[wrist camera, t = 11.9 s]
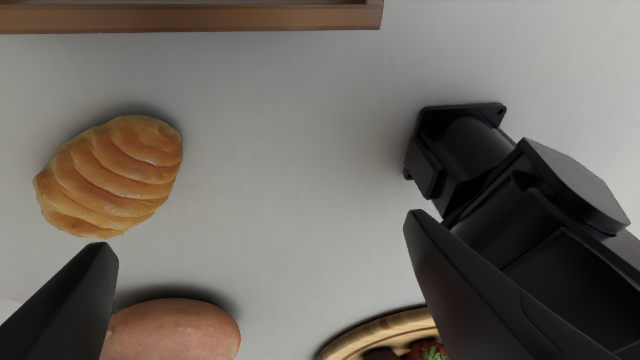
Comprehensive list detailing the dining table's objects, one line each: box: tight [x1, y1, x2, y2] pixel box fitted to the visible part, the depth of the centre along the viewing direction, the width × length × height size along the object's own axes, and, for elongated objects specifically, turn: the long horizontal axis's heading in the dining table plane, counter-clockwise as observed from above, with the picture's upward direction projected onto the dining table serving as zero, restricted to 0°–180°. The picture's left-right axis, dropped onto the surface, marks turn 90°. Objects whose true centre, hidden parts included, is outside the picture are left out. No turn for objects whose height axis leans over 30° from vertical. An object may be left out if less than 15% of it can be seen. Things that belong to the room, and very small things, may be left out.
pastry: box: [33, 114, 182, 239], centre depth 19 cm, size 9×7×4 cm
